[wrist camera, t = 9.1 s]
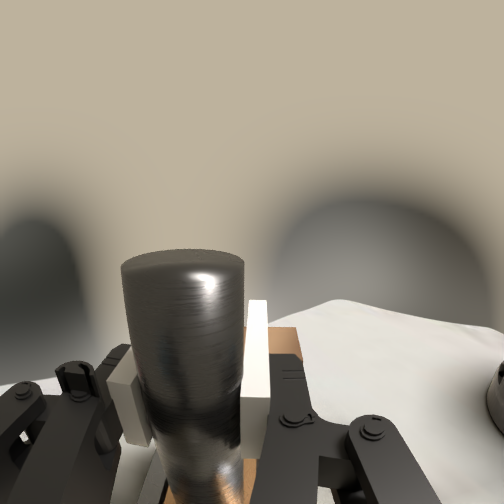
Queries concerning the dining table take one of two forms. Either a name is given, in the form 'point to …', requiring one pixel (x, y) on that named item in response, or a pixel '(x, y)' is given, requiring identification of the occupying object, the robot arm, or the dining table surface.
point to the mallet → (191, 368)
